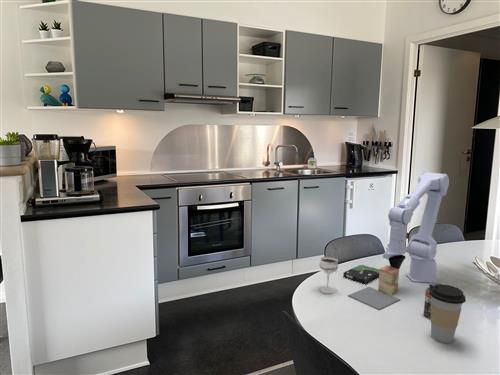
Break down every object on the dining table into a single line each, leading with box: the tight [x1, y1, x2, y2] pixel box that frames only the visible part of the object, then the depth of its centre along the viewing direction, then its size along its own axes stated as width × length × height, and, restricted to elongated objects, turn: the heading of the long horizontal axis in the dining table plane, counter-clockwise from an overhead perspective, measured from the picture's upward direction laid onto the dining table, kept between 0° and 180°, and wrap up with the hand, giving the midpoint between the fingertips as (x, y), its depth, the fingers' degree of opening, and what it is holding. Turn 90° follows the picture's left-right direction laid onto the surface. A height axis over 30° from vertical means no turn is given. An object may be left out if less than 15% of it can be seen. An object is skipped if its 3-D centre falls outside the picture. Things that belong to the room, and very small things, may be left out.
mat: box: [347, 286, 401, 311], centre depth 136 cm, size 13×13×1 cm
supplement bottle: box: [423, 281, 442, 320], centre depth 123 cm, size 6×6×11 cm
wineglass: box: [319, 256, 339, 294], centre depth 141 cm, size 7×7×12 cm
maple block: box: [377, 265, 400, 296], centre depth 141 cm, size 5×5×9 cm
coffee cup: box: [429, 283, 466, 344], centre depth 110 cm, size 9×9×15 cm
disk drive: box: [342, 264, 380, 286], centre depth 156 cm, size 10×3×15 cm
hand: (394, 273), depth 143 cm, fingers closed
